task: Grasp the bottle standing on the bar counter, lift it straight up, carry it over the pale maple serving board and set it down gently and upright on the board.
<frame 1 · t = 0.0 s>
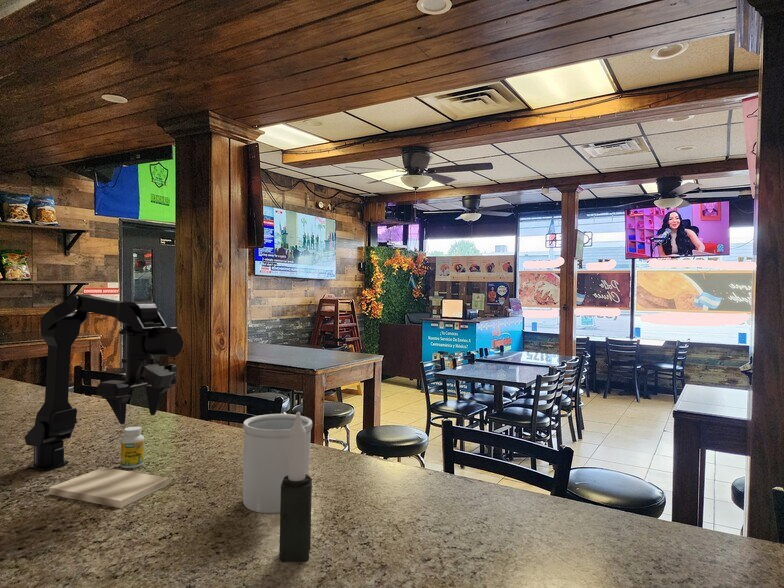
hand: (138, 419, 120), 15 cm above the countertop, fingers open, 9 cm apart
utensil holder: (276, 501, 111), on the countertop
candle: (295, 555, 88), on the countertop
supplement bottle: (132, 466, 131), on the countertop
serving board: (111, 489, 115), on the countertop
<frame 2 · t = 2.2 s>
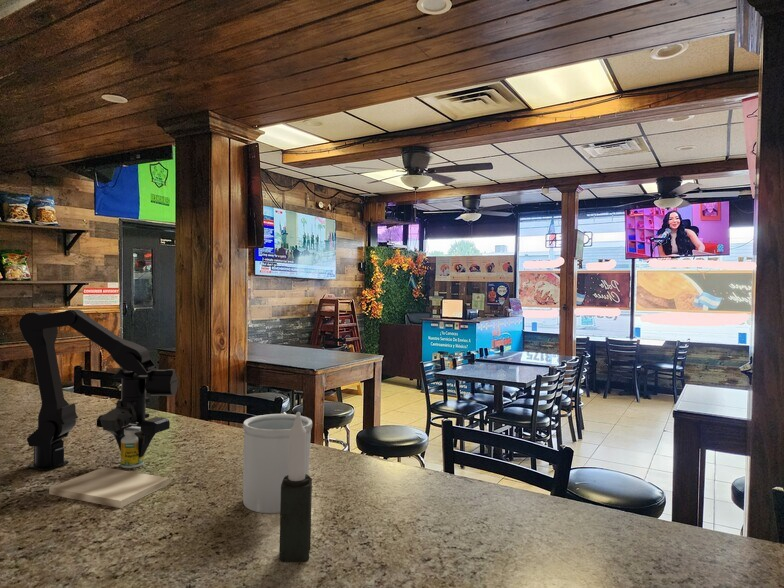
hand: (132, 455, 131), 3 cm above the countertop, fingers closed on supplement bottle, 5 cm apart
supplement bottle: (132, 466, 131), on the countertop, touching gripper
everything else where it was.
when the fingers open (5 cm above the countertop, at t = 6.4 s): supplement bottle stays where it is, resting on serving board.
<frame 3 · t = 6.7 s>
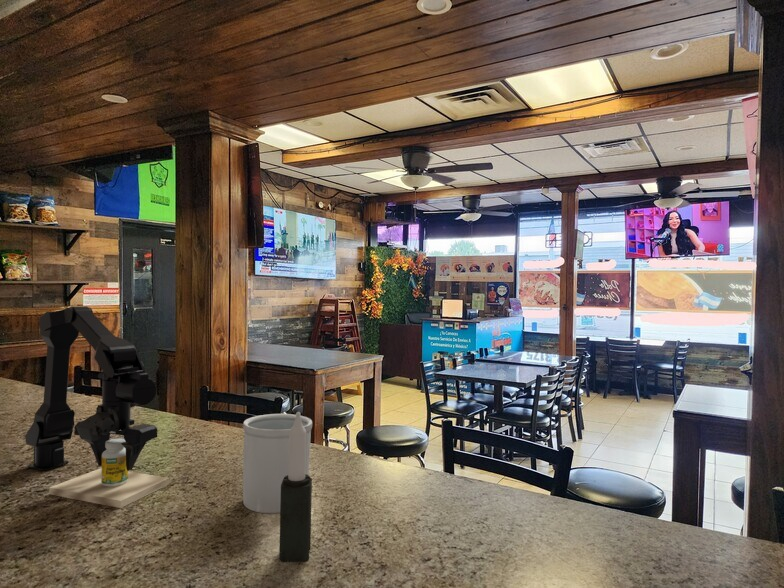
hand: (115, 467, 115), 5 cm above the countertop, fingers open, 8 cm apart
supplement bottle: (114, 483, 115), point 1 cm above the countertop, touching serving board
everything else where it was.
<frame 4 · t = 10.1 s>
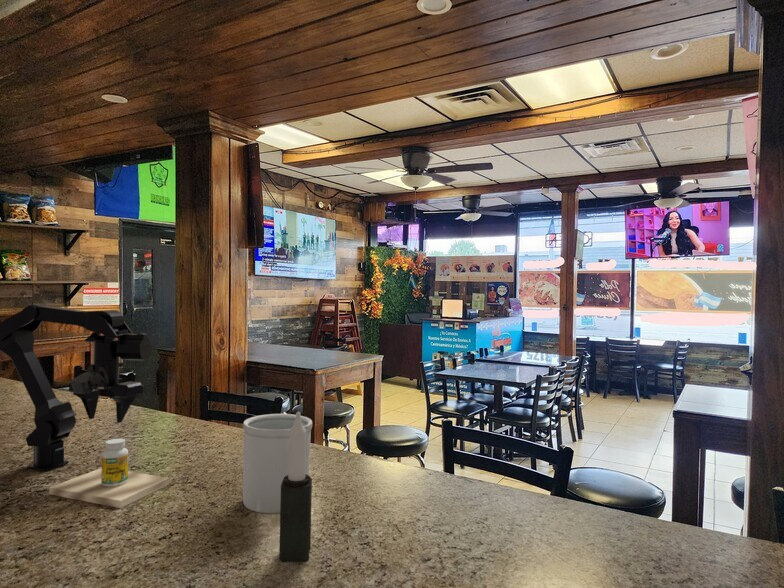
hand: (105, 420, 128), 12 cm above the countertop, fingers open, 9 cm apart
nothing on the countertop moved.
at the end: supplement bottle inside the target area on the serving board (0.9 cm from its centre), point 1.3 cm above the serving board's base; supplement bottle tilted 0°; the gripper is holding nothing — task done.
